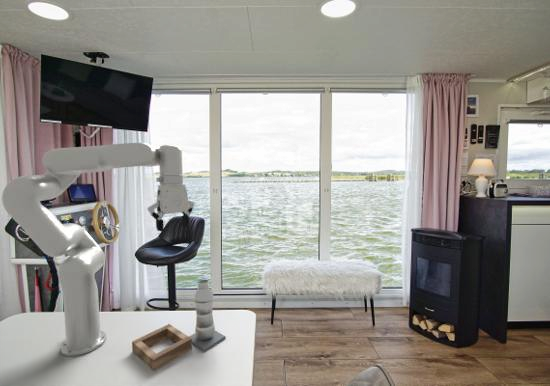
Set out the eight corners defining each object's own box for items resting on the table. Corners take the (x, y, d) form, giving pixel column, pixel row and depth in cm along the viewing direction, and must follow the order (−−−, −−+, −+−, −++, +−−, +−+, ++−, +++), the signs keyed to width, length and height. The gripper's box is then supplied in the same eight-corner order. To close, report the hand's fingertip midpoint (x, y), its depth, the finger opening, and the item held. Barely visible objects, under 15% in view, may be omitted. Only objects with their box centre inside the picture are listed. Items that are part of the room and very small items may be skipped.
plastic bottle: (210, 343, 90) (208, 285, 89) (191, 341, 92) (189, 284, 90) (218, 332, 97) (216, 278, 95) (200, 330, 98) (198, 277, 97)
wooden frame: (132, 351, 88) (132, 341, 88) (169, 333, 98) (169, 323, 98) (153, 371, 79) (153, 359, 79) (192, 348, 89) (191, 338, 89)
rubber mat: (186, 340, 94) (186, 337, 94) (207, 328, 101) (207, 326, 101) (204, 351, 88) (204, 349, 88) (225, 338, 95) (225, 336, 95)
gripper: (152, 181, 86) (155, 234, 88) (198, 180, 100) (200, 225, 101) (141, 181, 91) (144, 231, 92) (187, 179, 104) (188, 223, 106)
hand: (173, 228), depth 97 cm, fingers open, 9 cm apart
